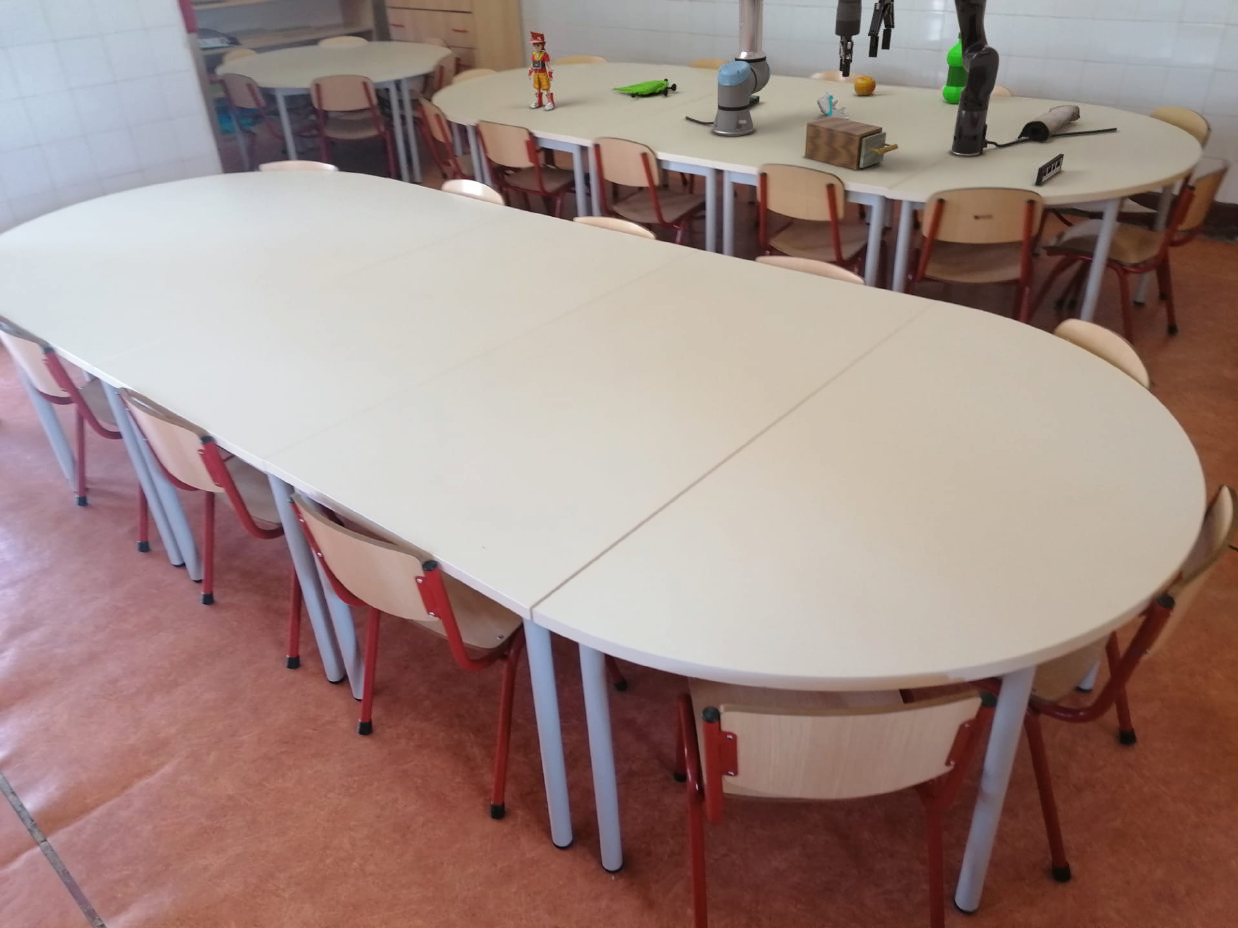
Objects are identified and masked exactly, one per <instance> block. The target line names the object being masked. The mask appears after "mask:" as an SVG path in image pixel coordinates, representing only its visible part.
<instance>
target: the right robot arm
mask: <svg viewBox="0 0 1238 928" xmlns="http://www.w3.org/2000/svg"><path fill="white" fill-rule="evenodd" d="M862 2H863V0H837V7H836V16H835V26H834V27H835V28H834V34H835V36H838V37H839V39H840V40H839V48H838V55H839V66H838V67H839V68H838V69H839V72H841V76H842V78H849V77H850V75H851V64H852V63H853V55H854V47H855V42H854V40H853V37H854V36H858V35H860V33H861V25H862V13H863V4H862ZM953 2H954V6H955V12H956V17H957V22H958V27H959V28H958V29H959V32H960V34H961V49H962V64H963V67H964V69H965V70H966V71H967V72H968V78H967V83H966V86H965V88H963V89H962V90H961V93H960V100H959V103H958V106H957V113H956V120H955V126H954V132H953V134H952V145H951V149H950V153H951V154H953V155H955V156H958V157H959V156H960V157H975V156H979V155H983V154H984V149H987V148H988V145H993V146H995V148H1006V147H1010V146H1013V145H1017V144H1021V143H1026V142H1031V141H1032V140H1031V138H1029V137H1025V138H1021V139H1017V140H1014V141H1010V142H1007V143H1002V144H1001V143H998V142H997V141H992V140H989V139H987V138H986V136H987V131H988V124H987V117H988V113H989V105H990V100H991V95H992V93H993V91H994V89H995V85H996V82H997V75H998V71H999V68H1000V54H999V52H998V51H997V50H996V49H995V48H994V47H992V46H990V45H989V43H988V39H987V35H986V30H985V17H986V16H985V15H986V8H987V2H988V1H987V0H953ZM1116 131H1118V128H1117V127H1112V128H1111V127H1110V128H1103V129H1095V130H1084V131H1083V130H1081V131H1073V132H1071V131H1070V132H1061V133H1053V135H1052V136H1050V137H1049V138H1050V139H1051V138H1057V137H1067V136H1079V135H1093V134H1098V133H1109V132H1116ZM1049 138H1048V139H1049Z"/></svg>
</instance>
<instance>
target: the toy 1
mask: <svg viewBox="0 0 1238 928" xmlns="http://www.w3.org/2000/svg"><path fill="white" fill-rule="evenodd" d="M529 33H530V35H531V36H528V37H527V38H528V39H529V40H528V41H527V43H529V44H530V43H531V44H532V48H533V50H534V51H533V52H532V55H531V58H530V59H531V63H530V66H528V74H527V75H528V76H527V77H528V79H529V80H531V75H532V74H533V84H532V85H533V86H532V87H533V88H534V89H535V90H536V92H534V95H535V97H536V100H535V101H533V102H531V105H530V108H531V109H535V108H538V107H542V106H544V101H543V100H544V99H543V95H544V92H546V94H545V97H546V99H547V103H546V104H545V106H544V110H546V111H549V110H553V109H554V107H555V106H556V105H555V99H554V92H551V91H550V90H551V86H552V84H551V82H552V81H553V80H554V77H553V73H554V71H555V70H554V69H552V68H551V63H550V61H551V59H550V58H551V57H550V54H549V53H548V52H547V50H546V48H545V46H546V44H547V41H545V35H544V33H543V32H542V33H539V32H535V31H529Z"/></svg>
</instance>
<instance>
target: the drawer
mask: <svg viewBox="0 0 1238 928" xmlns="http://www.w3.org/2000/svg"><path fill="white" fill-rule="evenodd" d="M886 140H887V131H882V132H881V133H877V132H876V133H873V134H870V135H867V136H863V137H861V141H860V151H859V161H858V164H860V167H861V168H860V169H865V168H867V167H869V166H872V165H875V164H877V163H881V162H883V161H884V156H885V154H886V153H889V152H893V151H895V150H897V149H898V148H899V145H898V143H893V144H892V143H891V144H890V143H886Z"/></svg>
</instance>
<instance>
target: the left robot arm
mask: <svg viewBox="0 0 1238 928" xmlns="http://www.w3.org/2000/svg"><path fill="white" fill-rule="evenodd" d="M738 8H739V9H738V10H739V13H738V14H739V16H738V51H737V52H736V54H735V55H734V60H733V61H730V62H726V63H723V64H722V65H720V67H719V68H718V70H717V111H716V114H715V118H714V120H713V121H702V120H698V119H694V118H693V117H689V116H687V115H686V116H685V117H684V118H685V119H686V120H687V121H691V122H693V123H696V124H699V125H704V126H705V125H706V126H709V125H712V133H713V134H715V135H717V136H721V137H741V136H746V135H750V134H752V133H754V122H753V118H752V115H751V111H750V107H749V97H750V95H754V94H757V93H759V92H760V91H762V90H763V89H764V88H765V87H766V86H767V85H768V83H769V81H770V79H771V67H770V64H769V63H768V62H767V53H766V52H765V50H763V40H764V39H763V38H764V36H763V34H764V32H763V31H764V0H739V7H738ZM895 23H896V22H895V0H877V2H875V3H874V5H873V13H872V17H871V21H870V25H869V29H868V32H867V36H868V37H869V38H870V39H869V47H868V58H874V59H875V58H878V52H879V43H880V42H879V41H880V35H879V34H880V31H881V27H882V25H883V27H884V28H882V37H881V48H880V50H881V51H882V50H884V51H885V50H886V51H889V50H890V49H891V39H892V32H893V29H895V27H896V25H895Z"/></svg>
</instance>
